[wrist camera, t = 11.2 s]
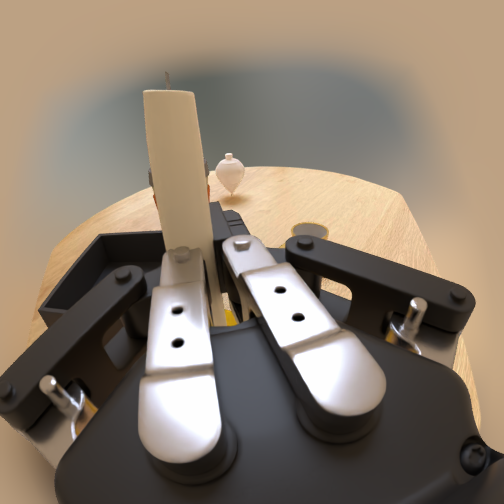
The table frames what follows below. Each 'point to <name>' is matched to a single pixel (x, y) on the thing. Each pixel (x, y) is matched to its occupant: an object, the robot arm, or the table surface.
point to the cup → (309, 230)
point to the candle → (182, 181)
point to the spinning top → (230, 173)
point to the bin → (103, 270)
